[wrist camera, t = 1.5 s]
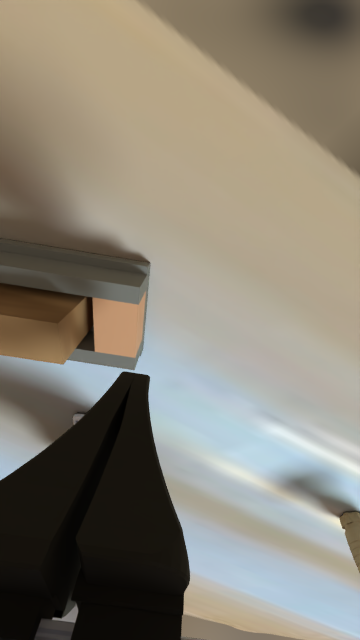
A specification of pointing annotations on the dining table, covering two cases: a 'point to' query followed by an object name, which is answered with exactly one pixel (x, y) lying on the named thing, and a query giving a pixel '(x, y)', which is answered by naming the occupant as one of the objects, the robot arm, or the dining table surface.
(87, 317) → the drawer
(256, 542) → the dining table surface
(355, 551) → the handle
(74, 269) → the rail
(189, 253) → the dining table surface
